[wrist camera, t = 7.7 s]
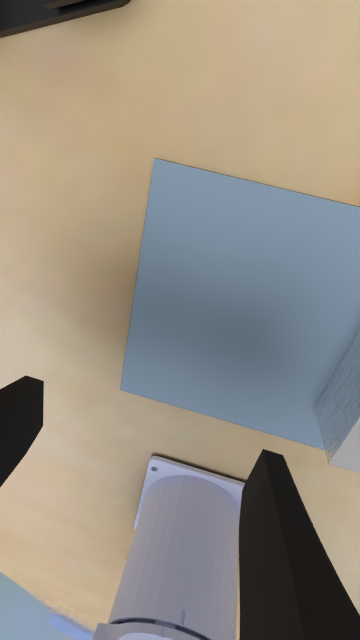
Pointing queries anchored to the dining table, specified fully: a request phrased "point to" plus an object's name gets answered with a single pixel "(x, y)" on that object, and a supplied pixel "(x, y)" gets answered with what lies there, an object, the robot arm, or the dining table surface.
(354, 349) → the aluminium block
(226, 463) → the dining table surface
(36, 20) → the end cap
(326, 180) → the dining table surface
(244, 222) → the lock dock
